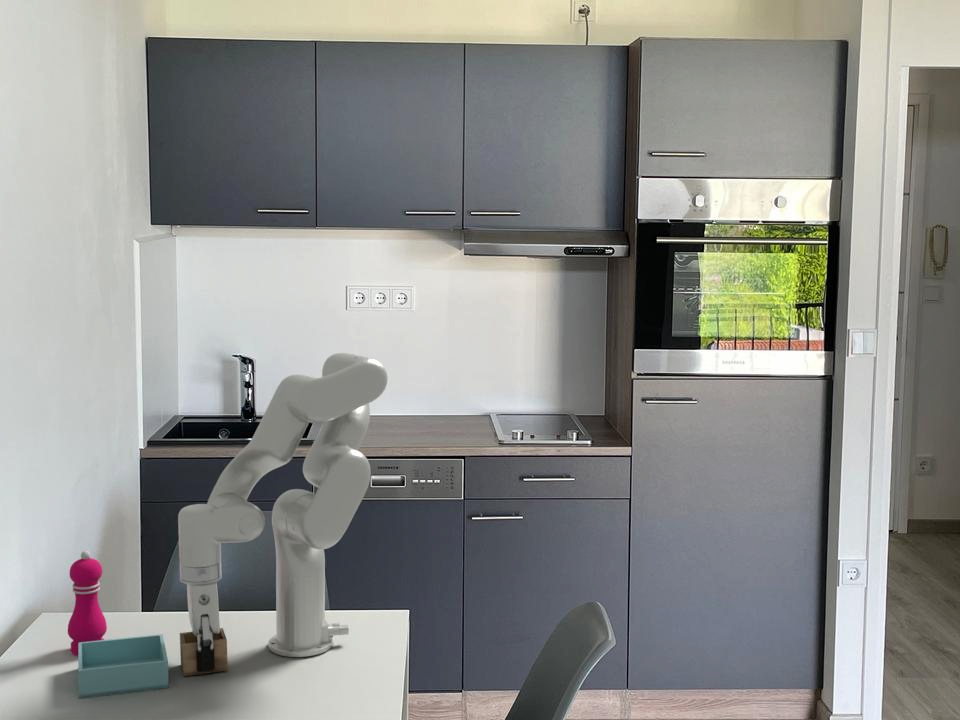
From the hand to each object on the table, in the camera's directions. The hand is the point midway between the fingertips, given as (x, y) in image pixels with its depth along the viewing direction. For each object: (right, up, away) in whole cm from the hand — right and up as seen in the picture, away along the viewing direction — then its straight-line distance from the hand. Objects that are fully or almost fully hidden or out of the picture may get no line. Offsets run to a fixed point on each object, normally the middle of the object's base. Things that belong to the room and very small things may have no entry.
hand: (203, 662), depth 210 cm
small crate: (0, -1, 0) cm, 1 cm away
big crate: (-14, -2, -5) cm, 15 cm away
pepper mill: (-25, 0, +8) cm, 26 cm away
